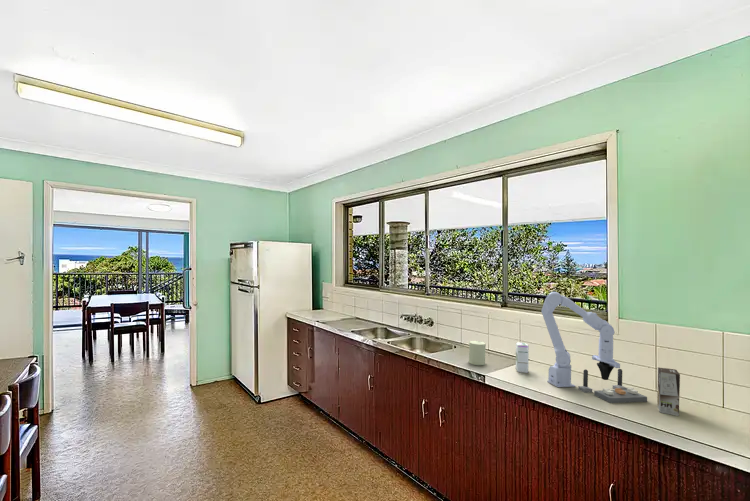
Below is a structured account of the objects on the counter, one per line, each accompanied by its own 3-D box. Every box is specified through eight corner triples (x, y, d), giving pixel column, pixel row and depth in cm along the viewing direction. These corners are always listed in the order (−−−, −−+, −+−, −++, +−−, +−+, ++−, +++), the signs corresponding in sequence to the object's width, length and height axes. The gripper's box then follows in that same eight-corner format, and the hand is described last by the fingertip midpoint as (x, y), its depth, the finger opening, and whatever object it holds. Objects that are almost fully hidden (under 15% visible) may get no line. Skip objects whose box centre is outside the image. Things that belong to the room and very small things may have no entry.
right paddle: (632, 394, 164) (633, 390, 164) (626, 391, 167) (626, 387, 167) (637, 393, 164) (637, 390, 164) (631, 391, 167) (631, 387, 167)
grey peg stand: (584, 392, 170) (585, 370, 170) (578, 389, 174) (578, 368, 174) (592, 392, 171) (592, 370, 171) (586, 389, 175) (586, 368, 175)
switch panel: (610, 403, 158) (610, 398, 158) (594, 395, 167) (594, 390, 167) (647, 401, 161) (647, 396, 161) (629, 394, 170) (629, 389, 170)
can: (487, 362, 215) (488, 341, 215) (482, 366, 207) (483, 344, 208) (471, 359, 220) (472, 339, 220) (466, 363, 212) (466, 341, 212)
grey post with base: (619, 391, 173) (619, 370, 174) (612, 388, 177) (612, 367, 177) (627, 391, 174) (627, 370, 174) (620, 388, 178) (620, 367, 178)
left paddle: (608, 394, 162) (608, 391, 162) (602, 392, 165) (603, 388, 165) (613, 394, 162) (613, 390, 162) (607, 392, 165) (607, 388, 165)
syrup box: (528, 373, 198) (529, 345, 198) (516, 371, 199) (517, 344, 199) (526, 369, 203) (527, 342, 203) (515, 368, 204) (515, 342, 205)
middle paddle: (620, 394, 163) (620, 390, 163) (614, 391, 166) (615, 388, 166) (625, 394, 163) (625, 390, 163) (619, 391, 166) (619, 388, 166)
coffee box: (679, 416, 146) (680, 374, 147) (659, 412, 150) (659, 371, 150) (676, 409, 154) (677, 369, 154) (656, 405, 158) (657, 366, 158)
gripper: (626, 353, 167) (625, 384, 166) (601, 345, 181) (600, 374, 181) (612, 353, 165) (611, 384, 165) (588, 345, 180) (587, 374, 180)
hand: (605, 379), depth 173 cm, fingers closed
